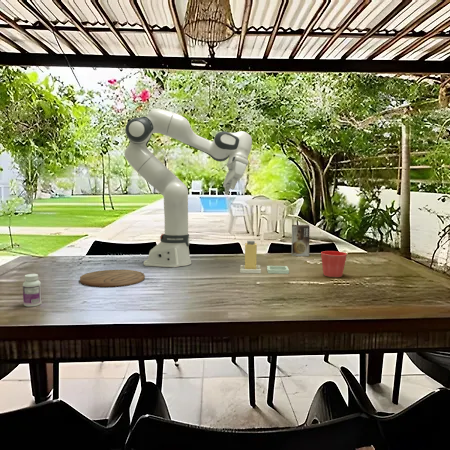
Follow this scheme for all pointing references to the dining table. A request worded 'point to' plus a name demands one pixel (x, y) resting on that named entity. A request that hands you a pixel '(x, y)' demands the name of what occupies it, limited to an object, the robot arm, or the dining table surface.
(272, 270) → the socket
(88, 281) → the trivet
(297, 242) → the coffee box
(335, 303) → the dining table surface
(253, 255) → the tan tall block
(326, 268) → the flower pot
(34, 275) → the pill bottle
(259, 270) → the socket
